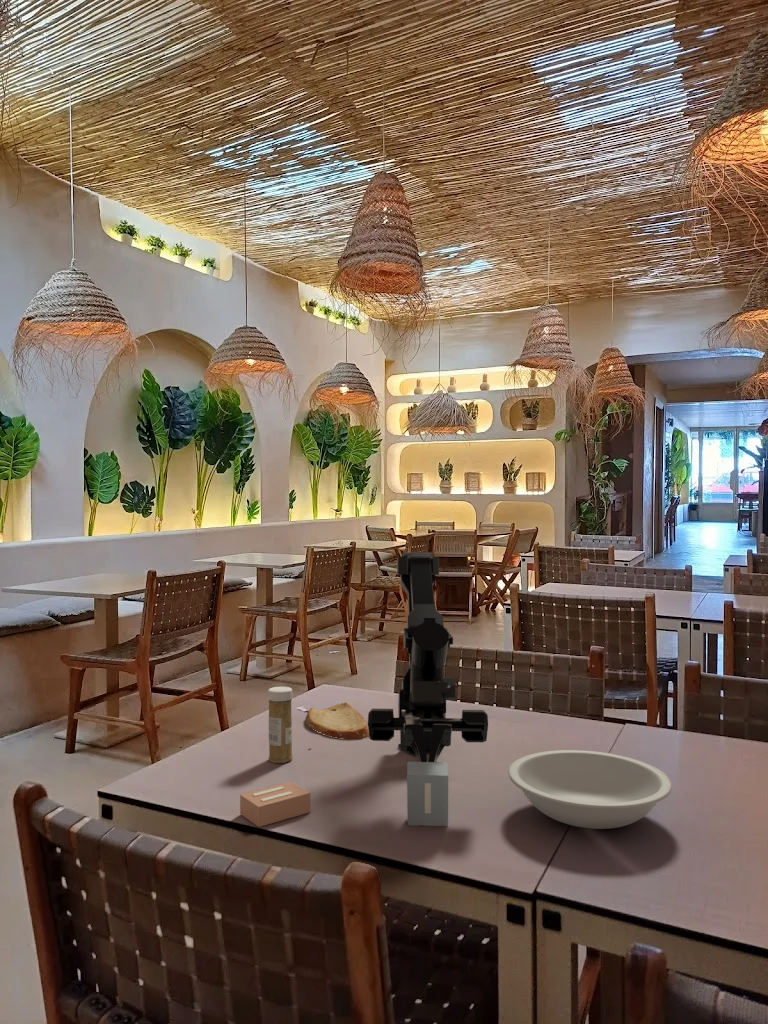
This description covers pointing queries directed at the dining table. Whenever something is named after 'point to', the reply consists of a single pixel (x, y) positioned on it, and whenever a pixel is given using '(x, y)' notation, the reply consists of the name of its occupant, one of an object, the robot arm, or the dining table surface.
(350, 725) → the slice of bread
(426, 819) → the grey-blue block
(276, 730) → the sprinkles bottle
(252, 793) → the cardboard box
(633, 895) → the dining table surface
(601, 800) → the soup bowl
